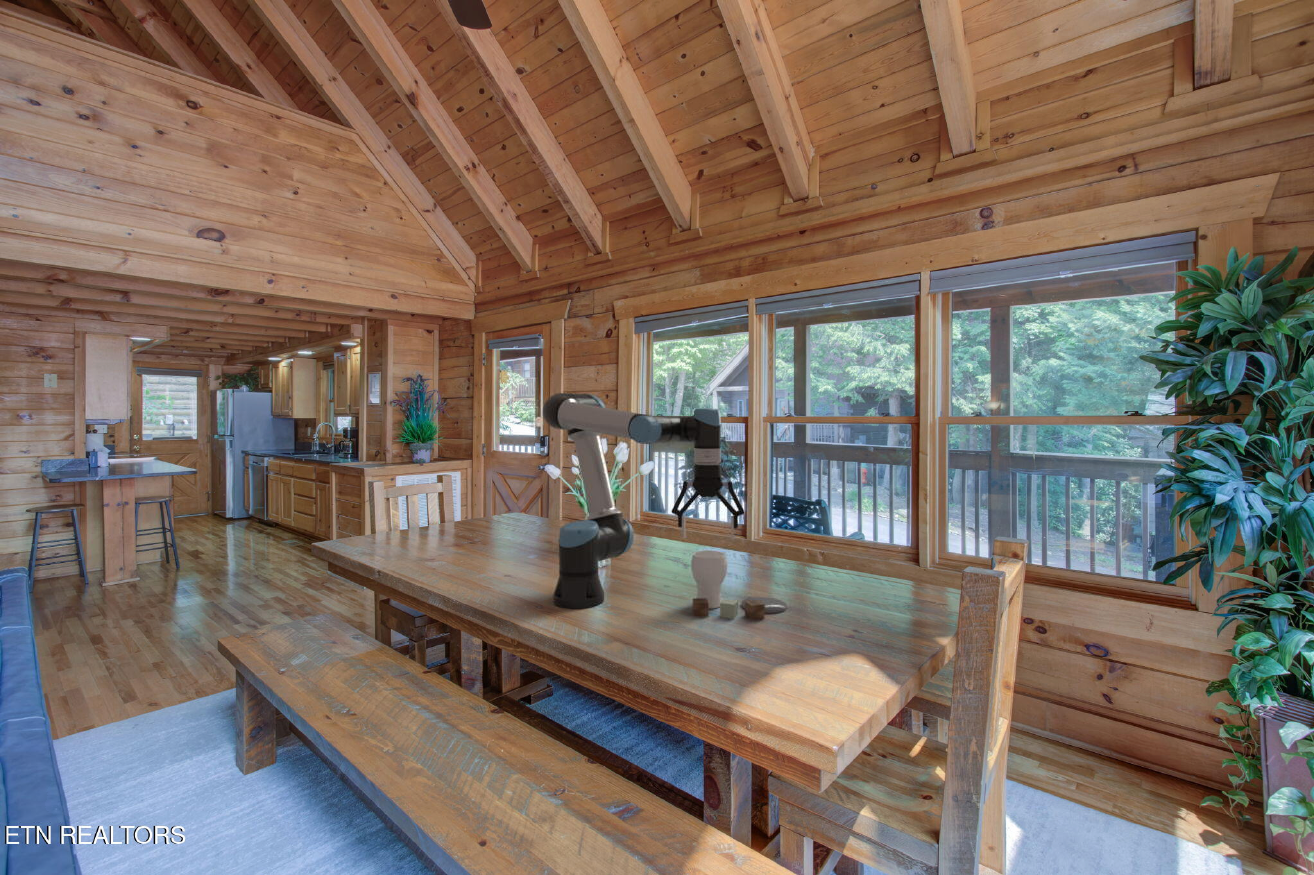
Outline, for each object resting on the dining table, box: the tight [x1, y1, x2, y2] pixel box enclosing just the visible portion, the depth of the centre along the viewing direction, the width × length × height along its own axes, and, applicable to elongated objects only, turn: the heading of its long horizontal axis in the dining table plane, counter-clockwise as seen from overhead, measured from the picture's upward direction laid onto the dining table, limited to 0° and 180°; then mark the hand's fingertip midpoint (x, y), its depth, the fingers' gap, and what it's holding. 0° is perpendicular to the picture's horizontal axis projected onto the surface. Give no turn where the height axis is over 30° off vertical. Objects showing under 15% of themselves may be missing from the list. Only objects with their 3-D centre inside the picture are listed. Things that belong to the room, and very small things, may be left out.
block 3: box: [744, 600, 766, 621], centre depth 162 cm, size 4×4×4 cm
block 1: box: [692, 597, 710, 618], centre depth 164 cm, size 4×4×4 cm
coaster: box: [740, 596, 787, 615], centre depth 171 cm, size 13×13×1 cm
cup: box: [690, 550, 728, 609], centre depth 173 cm, size 11×11×15 cm
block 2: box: [719, 598, 739, 620], centre depth 163 cm, size 4×4×4 cm
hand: (707, 539), depth 164 cm, fingers open, 13 cm apart
